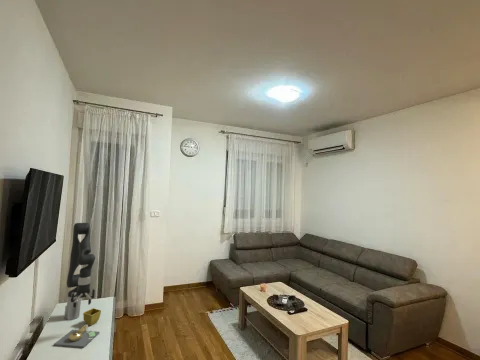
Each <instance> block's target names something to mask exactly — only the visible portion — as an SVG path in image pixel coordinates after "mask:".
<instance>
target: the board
mask: <svg viewBox="0 0 480 360" xmlns="http://www.w3.org/2000/svg"><path fill="white" fill-rule="evenodd" d="M78 330H79V329H71V330H70V331H69V332H67V333H66V334H64V336H62V337H60V338H59V340H57V341H56V342H54V343H53V347H61V346H62V348H63V347H64V348H76V349H84V348H85V347H87V346H88V345H89V343H91V342H92V341H93V340H94V339H95V338H97V336H98V335H99V334H100V331H95V330H91V329H90V330H86V331H85V332H83V333H82V334H81V339H80V340H78V341H76V342H69V335H70V334H71V333H72V332H75V331H78Z"/></svg>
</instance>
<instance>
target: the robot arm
mask: <svg viewBox="0 0 480 360" xmlns="http://www.w3.org/2000/svg"><path fill="white" fill-rule="evenodd" d="M79 235H84V237H83V238H82V240H81V241H80V239H79ZM95 260H96V256H95V254H93V253H92V248H91V225H90V223H89V222H76V223H74V225H73V231H72V243H71V250H70V259H69V268H68V269H69V270H68V273H67V279H66V287H67V288H68V289H70V288H73V289H71V290H69V291H68V292H67V298H66V299H67V301H66V305H65V307H64V317H63V319H64V320H67V321H70V320H71V321H72V320H75V319H78V318H79V317H80V314H81V305H82V299H83V298H86V297H87V298H88V301H87V303H88V306H90V305H91V303H92V300H93V299H94V298H95V289H94V288H91V280H92V277H91V275H92V268H93V265H94V263H95ZM79 266H84V267H82V268H80V269H79V273H77V274H75V272H76V270H77V268H78V267H79ZM90 293H91V295H90Z"/></svg>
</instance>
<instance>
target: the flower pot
mask: <svg viewBox="0 0 480 360" xmlns="http://www.w3.org/2000/svg"><path fill="white" fill-rule="evenodd" d="M82 314H83V315H82V316H83V322H84V323H85V324H86V325H88V326H93V325H95V324H96V323H98V321H99V320H100V317H101V314H102V310H101V309H97V308H94V307H93V308H91V309H89V310H87V311H84V312H83V313H82Z"/></svg>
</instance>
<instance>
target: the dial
mask: <svg viewBox="0 0 480 360" xmlns="http://www.w3.org/2000/svg"><path fill="white" fill-rule="evenodd" d="M88 327H89V325H87V324H86V323H85V324H84V325H83V326H81V328H79V329H77V330H78V331H75V332H72V333H71V334H70V335H69V342H76V341H78V340H80V339H81V334H82V333H83V332H85V331H88Z"/></svg>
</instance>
